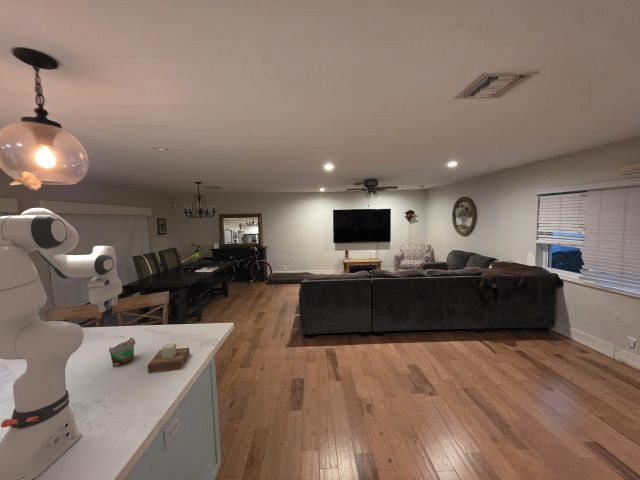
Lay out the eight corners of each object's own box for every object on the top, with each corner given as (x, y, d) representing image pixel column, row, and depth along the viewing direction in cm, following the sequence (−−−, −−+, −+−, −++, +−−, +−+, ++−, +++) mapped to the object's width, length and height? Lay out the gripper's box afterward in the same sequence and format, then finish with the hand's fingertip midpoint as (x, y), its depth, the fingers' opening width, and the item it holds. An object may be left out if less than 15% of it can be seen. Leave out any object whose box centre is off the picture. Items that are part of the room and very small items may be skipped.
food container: (120, 369, 126) (118, 349, 126) (109, 368, 127) (108, 348, 127) (142, 356, 138) (141, 337, 138) (132, 355, 139) (131, 337, 139)
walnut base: (181, 369, 125) (180, 361, 125) (148, 373, 122) (147, 365, 122) (189, 354, 139) (189, 347, 138) (159, 358, 136) (159, 350, 136)
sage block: (173, 357, 128) (172, 347, 128) (161, 359, 127) (161, 348, 127) (176, 352, 133) (176, 343, 133) (165, 353, 132) (165, 344, 132)
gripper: (111, 275, 135) (113, 302, 136) (84, 284, 115) (87, 316, 116) (125, 274, 136) (127, 301, 137) (100, 283, 116) (103, 314, 117)
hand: (108, 308), depth 126 cm, fingers open, 8 cm apart
